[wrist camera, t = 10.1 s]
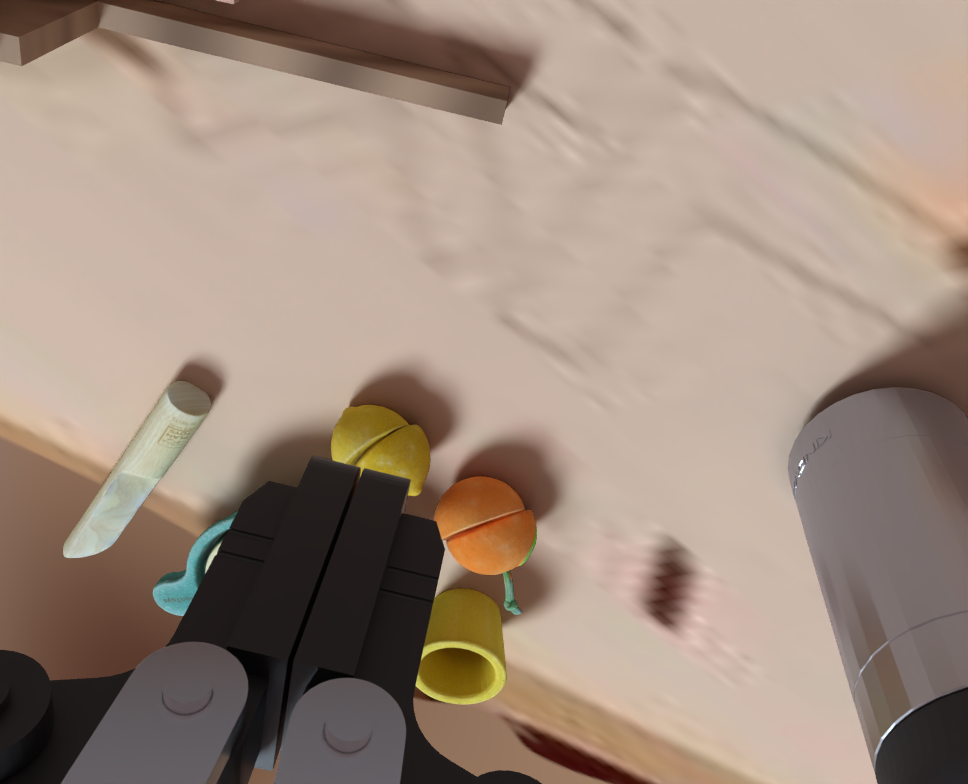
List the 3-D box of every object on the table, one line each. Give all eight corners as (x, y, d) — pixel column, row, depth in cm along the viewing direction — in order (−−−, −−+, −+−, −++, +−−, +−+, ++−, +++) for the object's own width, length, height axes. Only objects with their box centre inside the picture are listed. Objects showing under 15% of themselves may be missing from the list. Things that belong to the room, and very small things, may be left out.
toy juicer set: (590, 449, 49) (591, 548, 43) (497, 647, 60) (486, 751, 53) (79, 301, 47) (0, 383, 40) (75, 535, 57) (11, 630, 51)
